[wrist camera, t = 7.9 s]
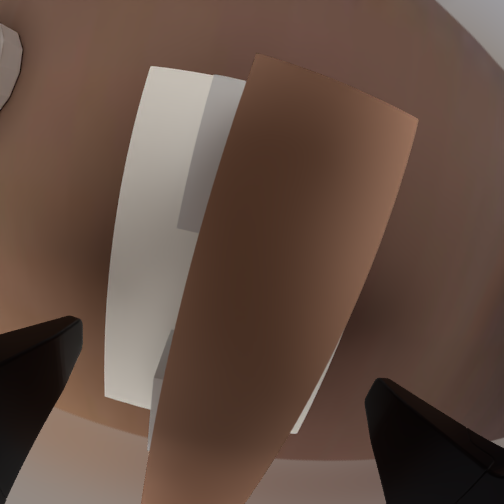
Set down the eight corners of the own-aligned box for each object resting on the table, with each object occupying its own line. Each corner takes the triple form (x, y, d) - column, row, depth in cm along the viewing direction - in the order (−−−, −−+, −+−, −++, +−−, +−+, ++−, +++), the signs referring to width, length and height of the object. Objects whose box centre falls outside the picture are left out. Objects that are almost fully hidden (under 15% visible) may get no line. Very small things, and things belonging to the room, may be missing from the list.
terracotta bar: (354, 132, 9) (418, 119, 6) (226, 462, 13) (226, 529, 9) (249, 95, 9) (256, 52, 5) (155, 445, 13) (139, 512, 9)
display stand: (394, 135, 14) (453, 128, 9) (294, 423, 19) (307, 482, 14) (156, 71, 13) (121, 35, 8) (109, 386, 17) (83, 441, 13)
